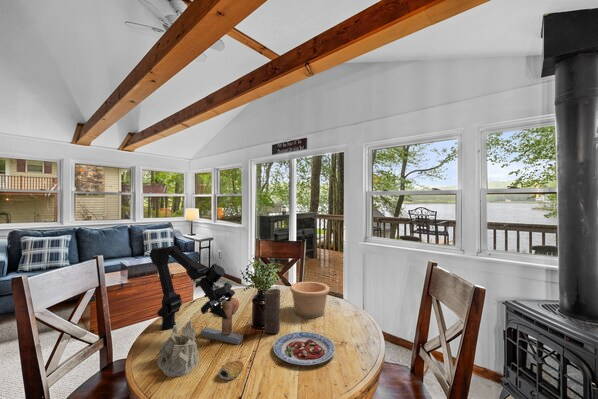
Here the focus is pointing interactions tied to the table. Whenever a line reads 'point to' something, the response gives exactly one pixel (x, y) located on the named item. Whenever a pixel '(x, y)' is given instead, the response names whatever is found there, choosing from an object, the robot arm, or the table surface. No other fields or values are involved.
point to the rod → (227, 322)
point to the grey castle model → (179, 352)
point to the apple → (235, 304)
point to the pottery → (309, 299)
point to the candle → (272, 311)
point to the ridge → (222, 336)
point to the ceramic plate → (304, 348)
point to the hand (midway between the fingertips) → (229, 316)
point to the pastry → (230, 370)
